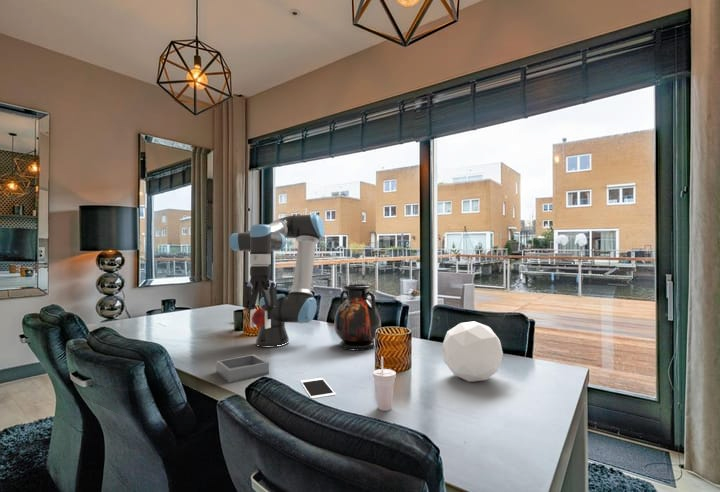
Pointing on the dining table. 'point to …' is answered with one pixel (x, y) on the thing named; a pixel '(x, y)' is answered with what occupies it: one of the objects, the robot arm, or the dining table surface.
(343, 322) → the amphora vase
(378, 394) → the smoothie
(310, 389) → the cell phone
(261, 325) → the onion
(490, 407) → the dining table surface
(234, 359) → the box
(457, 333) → the geometric orb
